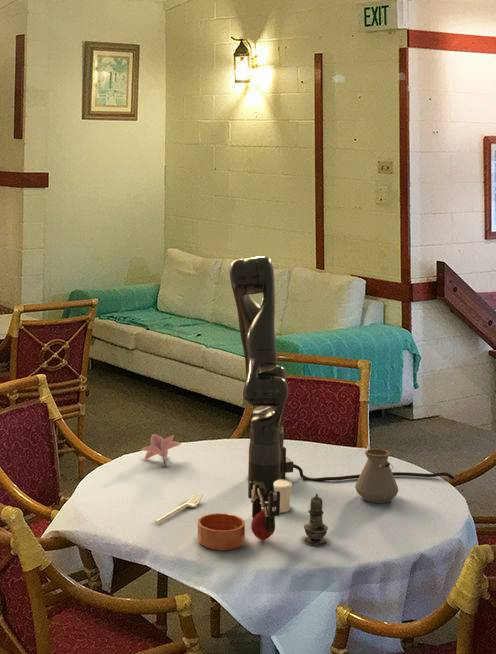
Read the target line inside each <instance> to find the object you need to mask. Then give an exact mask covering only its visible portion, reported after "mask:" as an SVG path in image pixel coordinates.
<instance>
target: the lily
mask: <svg viewBox="0 0 496 654" xmlns="http://www.w3.org/2000/svg"><path fill="white" fill-rule="evenodd" d="M174 437H175V434H172V435H169V436H167V437H165V438H164V437H162V436H160V435H159V434H156V433H152V434H151V436H150V445H147V446H144V447H142V448H140V451H144V452H146V454H145V455H144V458H143V459H144V461H146V460H148V459H150V458H152V457H155V456H156V455H158V456H160V457H162V460H163V463H164V467H167V465H166V460H165V459H167V458H168V454H169V450H170V449H173V448H175V447H176V448H177V447H179V446H181V445H182V443H181V442H179V441H176V440H174Z"/></svg>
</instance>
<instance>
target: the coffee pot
mask: <svg viewBox="0 0 496 654" xmlns="http://www.w3.org/2000/svg"><path fill="white" fill-rule="evenodd" d="M364 455H365V456H366V458H367V460H366V462H365V464H364V467H363V469H362V470H361V473H360V474H361V475H360V474H359V475H360V477H359V478H357V481H356V482H355V484H354V488H355V491H356V493H357V494H358V495H359V496H360V497H361V498H362V499H363V500H364V501H366V502H369V503H373V504H386V503H389V502H390V501H391V500H392V499H394V498H395V497H396V496H397V495H398V493H399V487H398V484H397V481H396V478H395V476H393V473H392V472H393V471H392V470H393V469H394V466H393V464H391V463H390V462H389V461H388V459H389V457H390V455H391V452H390V451H389V450H386V449H382V448H369V449H367V450H365V452H364ZM391 466H392V468H391Z"/></svg>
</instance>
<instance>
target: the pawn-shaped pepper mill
mask: <svg viewBox="0 0 496 654" xmlns="http://www.w3.org/2000/svg"><path fill="white" fill-rule="evenodd" d="M309 507H310V508H309V510H308V513H309V521H308V522H306V523H305V524H303V529H304V532H305V535H306V536H307V537H305V538H304V540H303V541H304V543H305V544H307V545H309V546H315V547H320V546H324V545H326V544H327V540H326V539H325V538H324V537H326V535H327V532H328V530H329V527H328V525H327V524H325V523H324V520H323V515H324V514H325V512H324V510H323V499H322V498H321V497H320V496H319V494H318V493H315V496H313V497H311V499H310V506H309Z"/></svg>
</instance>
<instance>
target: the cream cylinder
mask: <svg viewBox="0 0 496 654" xmlns="http://www.w3.org/2000/svg"><path fill="white" fill-rule="evenodd" d="M273 484H274V489H275V492H276V491H279V492H280V514H281V513H286V512H288V511H290V505H291V504H290V503H291V496H292V490H293V489H292V488H293V483H292V481H290V480H287V479H285V480H283V479H278V480H277V481H275V482H274V483H273ZM266 503H268V502H266ZM275 509H276V507H275Z"/></svg>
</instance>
